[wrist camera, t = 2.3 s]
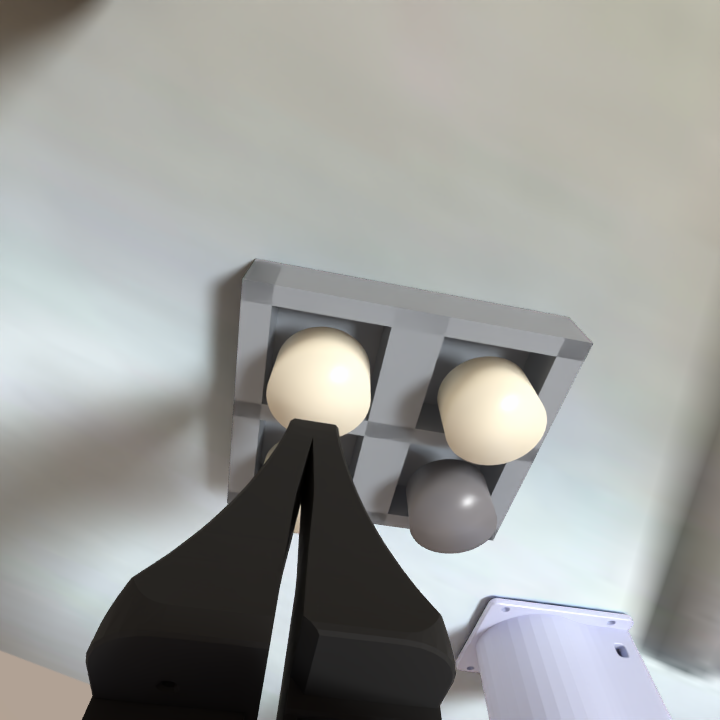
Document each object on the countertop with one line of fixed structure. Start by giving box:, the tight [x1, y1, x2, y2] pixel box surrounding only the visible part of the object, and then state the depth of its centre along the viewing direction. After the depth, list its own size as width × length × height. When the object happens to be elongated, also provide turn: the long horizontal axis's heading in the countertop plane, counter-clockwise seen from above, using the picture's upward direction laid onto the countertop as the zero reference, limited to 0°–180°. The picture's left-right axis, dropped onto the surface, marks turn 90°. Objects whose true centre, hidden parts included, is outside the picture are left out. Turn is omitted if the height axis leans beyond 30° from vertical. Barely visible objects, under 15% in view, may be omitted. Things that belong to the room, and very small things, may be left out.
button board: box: [227, 259, 593, 540], centre depth 20 cm, size 13×11×2 cm
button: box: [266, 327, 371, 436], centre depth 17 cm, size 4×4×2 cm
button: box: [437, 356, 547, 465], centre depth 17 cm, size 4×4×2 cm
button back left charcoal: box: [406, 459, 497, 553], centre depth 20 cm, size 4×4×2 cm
